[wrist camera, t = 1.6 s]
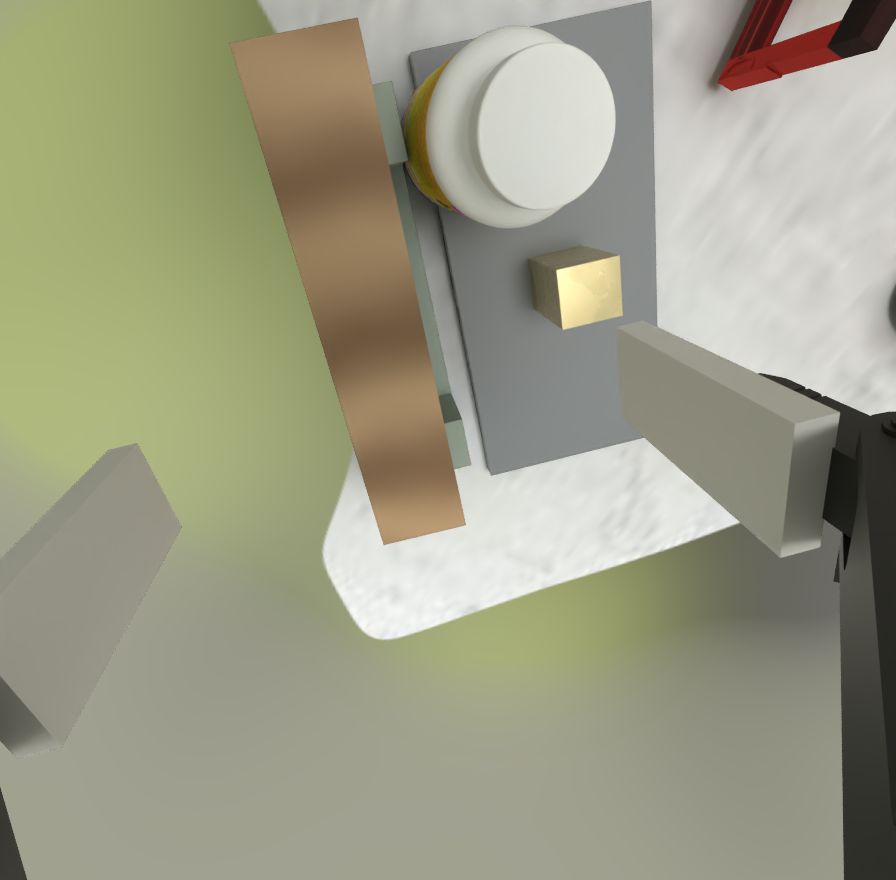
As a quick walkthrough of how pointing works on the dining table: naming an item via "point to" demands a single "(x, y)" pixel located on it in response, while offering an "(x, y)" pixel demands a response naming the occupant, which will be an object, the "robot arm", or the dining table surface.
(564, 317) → the wooden block
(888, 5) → the mug
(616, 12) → the slate board
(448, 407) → the green rack
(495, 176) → the supplement bottle
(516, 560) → the dining table surface
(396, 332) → the long wooden bar
